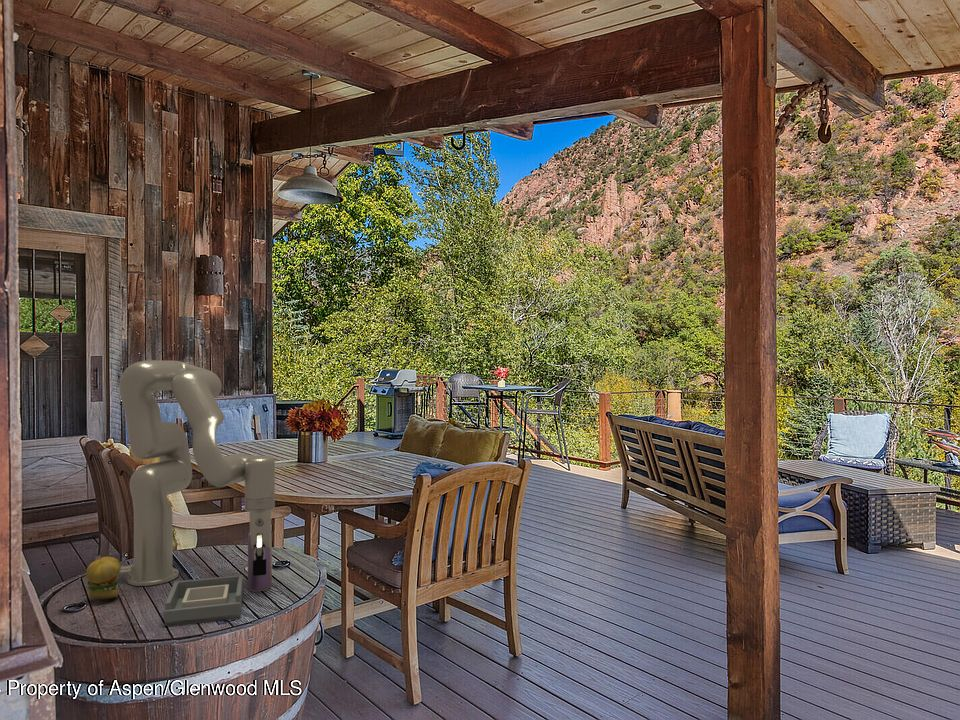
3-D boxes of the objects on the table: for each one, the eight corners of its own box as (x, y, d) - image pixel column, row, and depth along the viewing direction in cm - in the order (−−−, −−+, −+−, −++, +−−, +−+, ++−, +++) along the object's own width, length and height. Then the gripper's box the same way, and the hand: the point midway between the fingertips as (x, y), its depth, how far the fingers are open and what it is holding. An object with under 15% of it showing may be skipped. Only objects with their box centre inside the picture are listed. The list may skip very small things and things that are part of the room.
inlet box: (164, 627, 144) (164, 604, 144) (174, 601, 159) (174, 581, 159) (240, 618, 149) (240, 596, 149) (243, 594, 164) (243, 574, 164)
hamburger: (126, 594, 164) (126, 548, 164) (113, 605, 156) (113, 556, 156) (94, 596, 163) (94, 549, 163) (79, 607, 156) (79, 557, 156)
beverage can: (264, 593, 165) (264, 535, 165) (243, 591, 166) (243, 534, 166) (276, 585, 171) (276, 529, 170) (255, 584, 172) (255, 528, 172)
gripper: (274, 509, 161) (275, 578, 161) (274, 495, 178) (274, 558, 178) (243, 511, 159) (243, 582, 159) (246, 497, 175) (246, 561, 175)
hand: (259, 569), depth 168 cm, fingers open, 8 cm apart
